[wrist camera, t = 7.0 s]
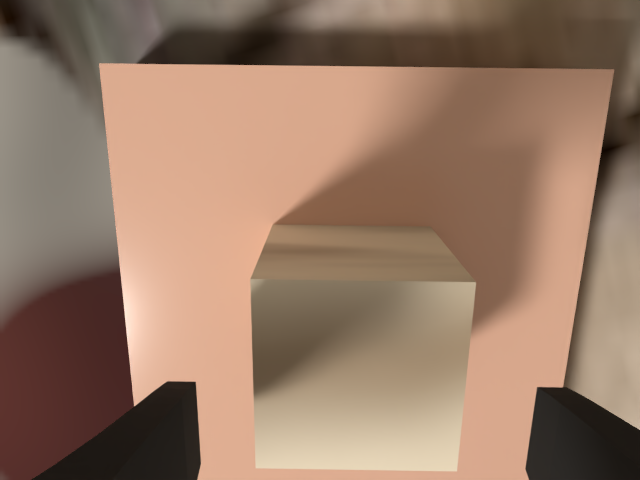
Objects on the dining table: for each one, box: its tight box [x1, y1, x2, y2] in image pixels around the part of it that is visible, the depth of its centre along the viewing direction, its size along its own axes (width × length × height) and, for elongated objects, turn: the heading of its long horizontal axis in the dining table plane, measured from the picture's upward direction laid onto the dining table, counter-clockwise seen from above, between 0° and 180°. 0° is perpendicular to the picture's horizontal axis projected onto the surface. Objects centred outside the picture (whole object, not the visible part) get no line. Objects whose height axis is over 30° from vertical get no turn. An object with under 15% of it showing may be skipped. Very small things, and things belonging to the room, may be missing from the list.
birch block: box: [250, 224, 476, 471], centre depth 14 cm, size 5×5×5 cm
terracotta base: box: [99, 64, 614, 480], centre depth 18 cm, size 15×15×2 cm
